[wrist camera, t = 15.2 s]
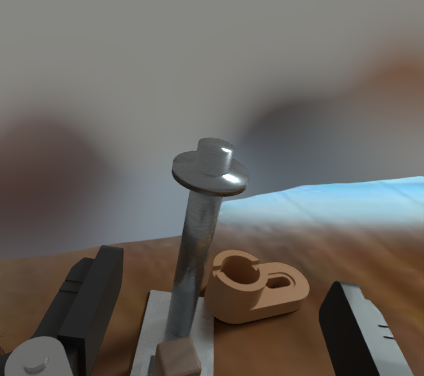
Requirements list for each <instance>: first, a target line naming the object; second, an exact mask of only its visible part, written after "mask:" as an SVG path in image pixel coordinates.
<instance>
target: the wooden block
mask: <svg viewBox="0 0 424 376" xmlns="http://www.w3.org/2000/svg"><path fill="white" fill-rule="evenodd" d="M201 371H202V367H201V364H200V361H199V358H198V355H197V352H196V349H195V346H194V343H193V340H192V338H191V337H185V338H181V339H176V340H172V341H167V342H163V343H159V344H158V345H157V347H156V353H155V359H154V365H153V371H152V376H200V375H201Z"/></svg>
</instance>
